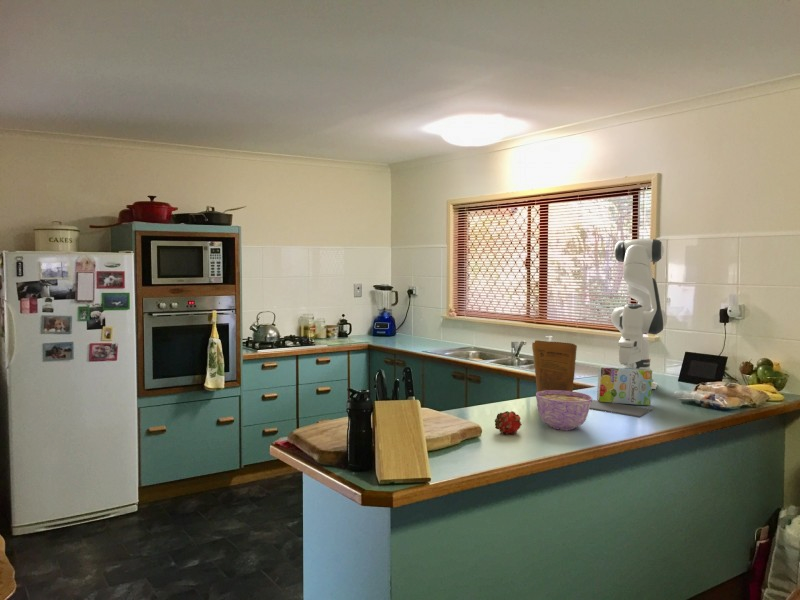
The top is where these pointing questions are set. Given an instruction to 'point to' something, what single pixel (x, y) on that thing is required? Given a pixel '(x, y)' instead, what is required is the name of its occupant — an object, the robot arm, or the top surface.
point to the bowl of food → (563, 408)
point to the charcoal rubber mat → (619, 408)
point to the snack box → (624, 385)
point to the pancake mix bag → (554, 365)
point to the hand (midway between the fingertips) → (630, 373)
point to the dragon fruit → (508, 422)
